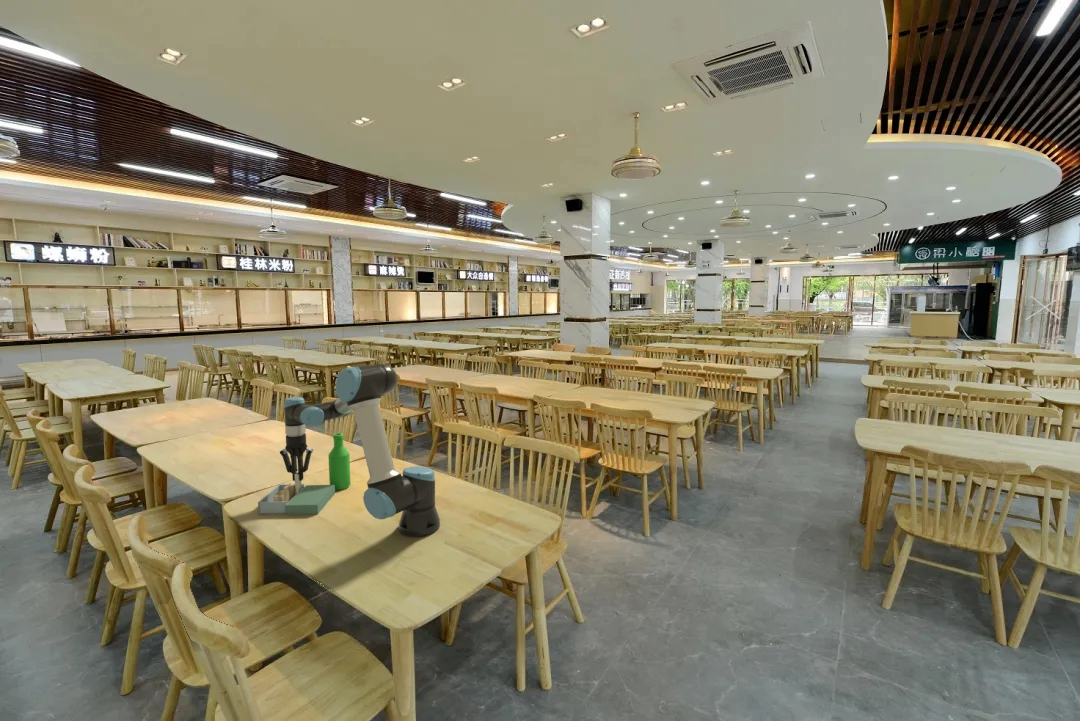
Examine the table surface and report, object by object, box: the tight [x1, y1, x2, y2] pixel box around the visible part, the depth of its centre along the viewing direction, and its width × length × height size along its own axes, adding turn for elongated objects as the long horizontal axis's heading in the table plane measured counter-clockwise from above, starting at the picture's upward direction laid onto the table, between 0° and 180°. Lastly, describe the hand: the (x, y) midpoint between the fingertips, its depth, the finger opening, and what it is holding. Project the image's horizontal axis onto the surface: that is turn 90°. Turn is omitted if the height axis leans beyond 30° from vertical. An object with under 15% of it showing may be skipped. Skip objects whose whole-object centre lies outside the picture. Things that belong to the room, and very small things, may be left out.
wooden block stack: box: [283, 482, 299, 501], centre depth 197 cm, size 6×6×4 cm
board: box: [286, 484, 336, 516], centre depth 194 cm, size 20×12×4 cm, turn 6°
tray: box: [257, 483, 305, 515], centre depth 192 cm, size 18×10×5 cm, turn 6°
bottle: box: [328, 432, 351, 491], centre depth 210 cm, size 9×9×25 cm
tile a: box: [273, 490, 289, 504], centre depth 189 cm, size 6×6×4 cm
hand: (298, 487), depth 197 cm, fingers closed
